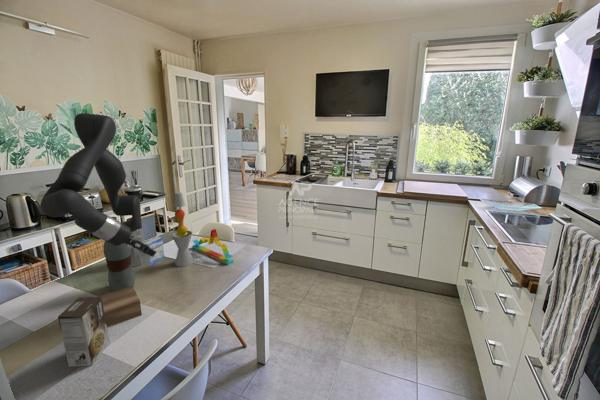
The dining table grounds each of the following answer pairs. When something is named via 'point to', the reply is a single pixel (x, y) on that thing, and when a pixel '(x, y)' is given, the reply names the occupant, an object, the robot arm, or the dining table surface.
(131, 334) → the dining table surface
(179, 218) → the lava lamp
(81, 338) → the coffee box
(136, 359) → the dining table surface
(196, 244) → the rainbow clothes hanger
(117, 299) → the walnut block
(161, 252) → the medicine box
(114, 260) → the bottle
